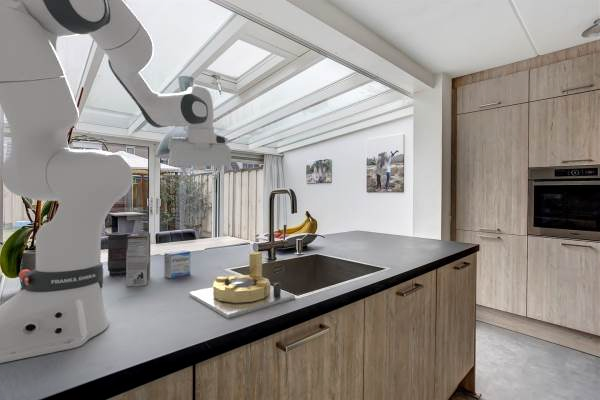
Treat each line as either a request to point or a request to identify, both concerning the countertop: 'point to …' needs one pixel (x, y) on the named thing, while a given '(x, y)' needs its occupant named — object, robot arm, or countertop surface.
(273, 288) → the base plate
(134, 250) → the coffee box
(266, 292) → the lens holder
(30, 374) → the countertop surface
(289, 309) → the countertop surface
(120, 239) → the camera lens
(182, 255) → the medicine box
